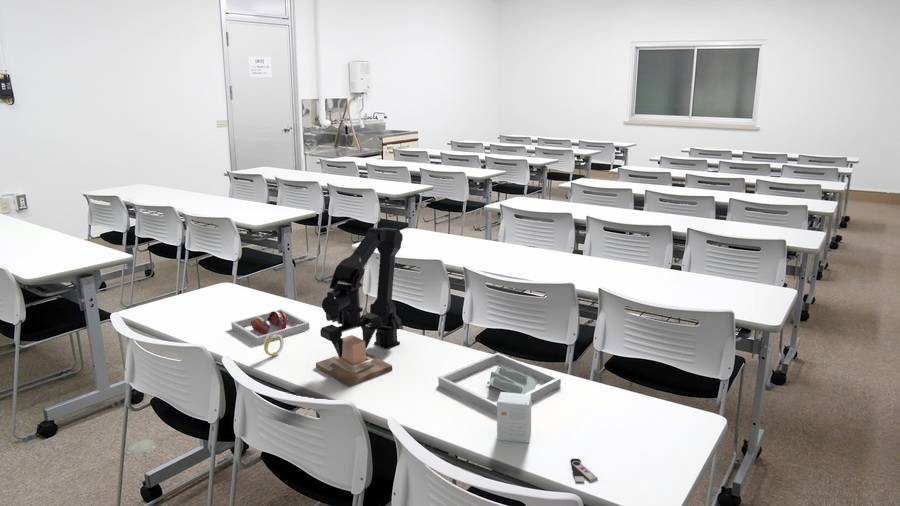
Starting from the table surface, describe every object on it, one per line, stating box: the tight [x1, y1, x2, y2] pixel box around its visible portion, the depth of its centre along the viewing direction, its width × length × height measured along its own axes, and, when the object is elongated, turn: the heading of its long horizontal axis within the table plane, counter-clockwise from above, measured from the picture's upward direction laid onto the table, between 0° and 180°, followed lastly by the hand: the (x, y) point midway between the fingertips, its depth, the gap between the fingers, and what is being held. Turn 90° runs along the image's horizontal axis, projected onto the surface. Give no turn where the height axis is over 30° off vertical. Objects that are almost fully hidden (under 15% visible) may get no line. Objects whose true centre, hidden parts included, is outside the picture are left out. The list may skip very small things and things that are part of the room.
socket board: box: [315, 352, 393, 387], centre depth 199 cm, size 16×18×4 cm
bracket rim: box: [437, 352, 562, 415], centre depth 187 cm, size 25×25×2 cm
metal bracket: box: [487, 365, 539, 394], centre depth 185 cm, size 14×6×15 cm
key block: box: [341, 334, 367, 365], centre depth 198 cm, size 7×4×8 cm, turn 43°
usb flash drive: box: [569, 458, 599, 483], centre depth 146 cm, size 9×5×1 cm, turn 176°
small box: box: [496, 391, 532, 444], centre depth 160 cm, size 8×6×10 cm
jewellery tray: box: [230, 308, 310, 346], centre depth 231 cm, size 20×20×2 cm
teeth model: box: [250, 310, 288, 335], centre depth 231 cm, size 8×6×12 cm
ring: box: [263, 331, 285, 357], centre depth 208 cm, size 7×3×8 cm, turn 137°
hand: (352, 352), depth 198 cm, fingers open, 9 cm apart
